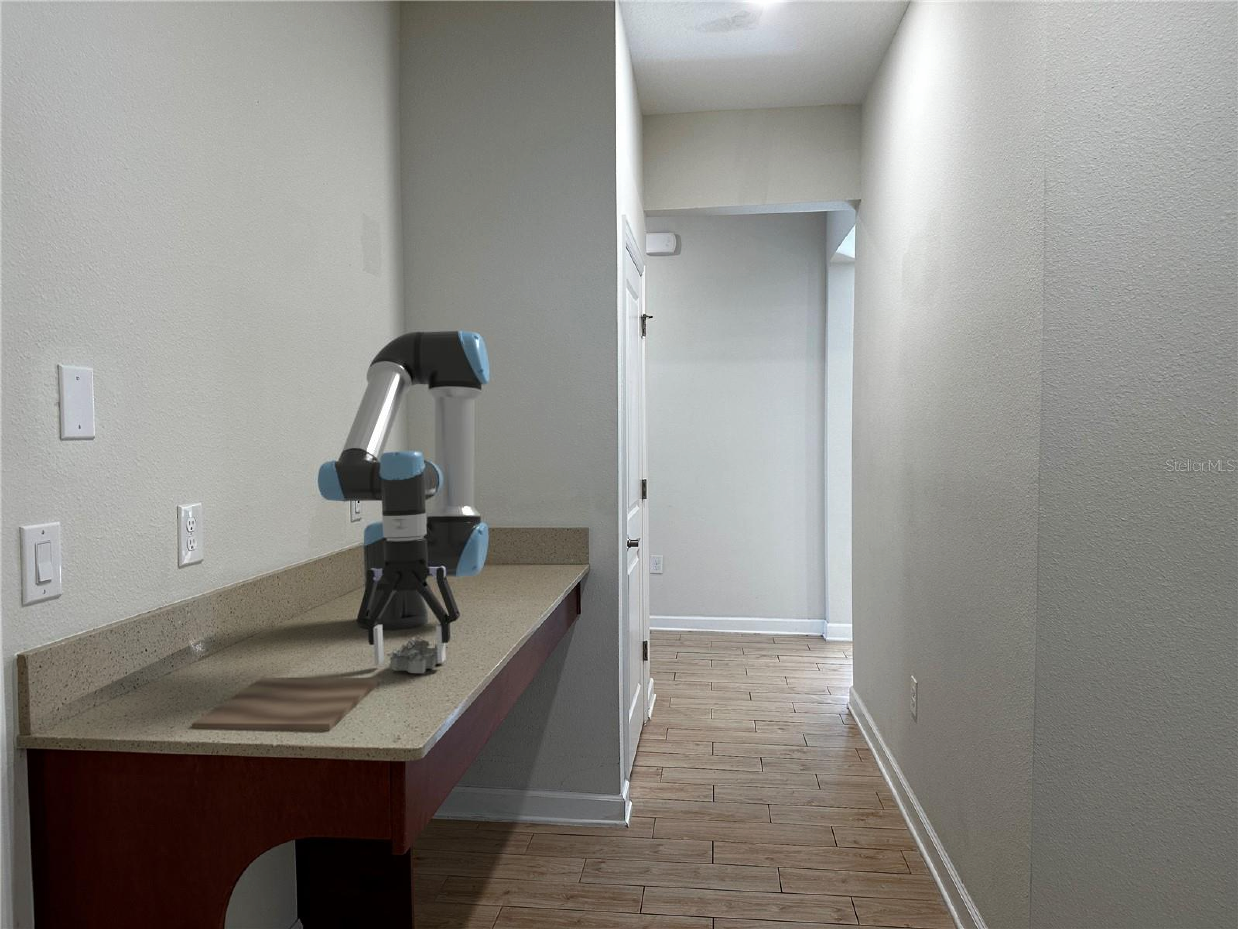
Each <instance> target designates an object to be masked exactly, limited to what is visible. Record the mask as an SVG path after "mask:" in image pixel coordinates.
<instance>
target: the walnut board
mask: <svg viewBox="0 0 1238 929" xmlns="http://www.w3.org/2000/svg"><path fill="white" fill-rule="evenodd" d="M378 685H380V678H379V677H261V678H259V679H257V680H256V681H254V682H252V684H250V685H248V686H247V687H245V688H244V689H243V690H241V691H239V692H238V693H236V694H234V695H233V696H232V697H230V698H229V699H227V700H226V701H224V702H223V703H221V704H219V705H218V706H216V707H214V708H213V709H212V710H210V711H209V712H207V713H206V714H204V715H203V716H201V717H200V718H198V719H196V720H194V722H192V723H191V725H192V726H191V729H217V730H218V729H222V730H223V729H224V730H226V729H227V730H262V731H263V730H264V731H265V730H267V731H268V730H269V731H273V730H274V731H307V732H309V731H310V732H311V731H315V732H316V731H317V732H318V731H319V732H321V731H322V732H323V731H324V732H330V731H331V730H333V729H334V728H335V726H337V725H338V724H339V723H340V722H341V721H342V720H343V719H344V718H346V716H347V715H348V714H349V713H351V711H353V710H354V709H355V708H356V707H357V705H359V703H361V702H362V701H363V700H364V699H365V698H366V697H367V696H368V695H369V694H370V693H371V692H372V691H374V689H375V688H376V687H377V686H378Z"/></svg>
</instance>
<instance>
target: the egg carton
mask: <svg viewBox="0 0 1238 929" xmlns="http://www.w3.org/2000/svg"><path fill="white" fill-rule="evenodd" d="M445 649H449V646H445ZM386 656H387V657H389V659H390V663H389V668H390V669H391V671H392V670H393V671H395V672H396V671H405V672H406V671H407V673H411V674H424V673H425V672H426V669H428V670H429V669H431V670H432V669H435V668H436V665H443V664H445V662H446V659H445V660H444V661H443V662H442V663H438V653H437V643H436V644H434V647H431V646H430V643H429V641H428V640H427V639H422V638H420V635H419V634H418V635H416V636H413V637H411V638H410V639H409V640H408V641H407V643H406V644H402V645H401V646H400V647H399V648H398V649H394V650H393V651H392V652H391V653H387V654H386Z"/></svg>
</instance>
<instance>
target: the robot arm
mask: <svg viewBox="0 0 1238 929" xmlns="http://www.w3.org/2000/svg"><path fill="white" fill-rule="evenodd" d="M366 381H367V386H366V389H365V391H364V393H363V396H362V399H361V401H360V404H359V407H358V408H357V409H358V410H357V411H356V414H355V417H354V420H353V422H352V425H351V426H350V429H349V433H348V435H347V438H346V439H345V443H344V445H343V448H342V450H341V453H340V455H339V458H338V460H337V461H336V460H332V461H331V460H329V461H326V462H323V463H322V464H321V465H320V466H319V469H318V473H317V486H318V490H319V492H320V496H321V497H322V498H323V499H325V500H326V501H334V502H335V501H336V502H345V503H346V502H368V501H370V502H371V501H373V502H374V501H375V502H376V501H379V502H380V501H381V509H382V510H381V511H382V512H381V513H382V520H379V521H375V522H373V523H369V524H367V526H366V527H365V528H364V531H363V544H362V548H363V569H364V570H363V571H364V574H363V575H364V593H363V597H362V599H361V603H360V606H359V610H358V613H357V617H356V623H357V626H358V627H359V628H361V629H365V630H367V634H368V637H367V638H368V639H367V640H368V644H369V645H370V646H371V645H372V646H373V649H374V665H376V666H377V665H380V664H382V663H383V662H384V661H385V658H384V657H385V654H384V636H383V635H384V634H383V633H384V632H383V631H400V630H401V631H402V630H408V629H414V628H418V627H422V626H424V625H426V624H428V622H429V611H428V608H427V606H428V607H429V609H430V610H431V612H432V613H433V615H434V616H435V618H436V620H437V621H438V622H439V623H438V624H437V625H436V626H435V628H436V644H437V653H438V663H442V662H443V661H444V660H445V661H446V659H447V657H446V648H445V647H446V644H448V643H449V642H450V641H451V623H453V622H456V621H458V620H459V619H460V618H461V613H460V611H459V608H458V605H457V602H456V600H455V597H454V595H453V592H452V590H451V586H450V583H449V582H448V578H461V577H462V578H463V577H465V578H466V577H474V576H476V575H479V573H480V572H481V571H482V569H483V567H484V565H485V561H486V558H487V554H488V553H487V552H488V547H489V538H490V537H489V526H488V525H487V523H485V522H481V521H482V520H481V519H482V518H481V514H480V513H479V511H478V510H476V508H475V505H474V504H475V498H474V497H475V496H474V495H475V406H476V405H475V402H476V399H477V398H478V397H479V396H480V395H481V394H482V385H484V386H485V385H486V384H488V383H489V382H490V363H489V356H488V351H487V349H486V344H485V341H484V339H483V338H482V336H481V335H480V334H479V333H477V332H475V331H466V330H465V331H463V330H455V331H454V330H451V331H449V330H447V331H412V332H407V333H404V334H402V335H399V336H397V337H396V338H394V339H393V340H391V341H390V342H389V343H387V344H386V345H384V347H382V348H381V350H379V351H378V353H377V354H376V355H375V357H374V358H373V360H371V362H370V365H369V367H368V370H367V372H366ZM417 385H428V387H427V389H428V391H427V392H428V393H429V394H430V395H431V396H432V397H433V398H434V402H435V403H434V413H435V414H434V462H432V461H429V460H427V459H424V456H423V453H422V452H421V451H419V450H409V451H408V450H407V451H406V450H404V451H401V450H400V451H386V452H385V448H386V445H387V443H388V440H389V437H390V435H391V430H392V428H393V425H394V422H395V420H396V417H397V414H398V410H399V408H400V404H401V402H402V400H403V396H405V395H407V394H408V393H409V392H410V390H411V388H412V386H417ZM431 498H434V499H433V508H432V510H431V511H429V512H428V513H427V514H426V501H427V500H431ZM427 578H433V579H434V580H436V583H437V584H436V585H437V586H438V590H439V592H440V595H441V598H442V600H443V603H444V606H445V608H444V607H443V605H442V604H441V603H440V601H439V599H438V598H437V596H436V594H434V592H433V590H432V589H431V586H430V584H429V583H428V582H427ZM426 604H427V605H426ZM445 609H446V610H445ZM446 611H447V612H446Z"/></svg>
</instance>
